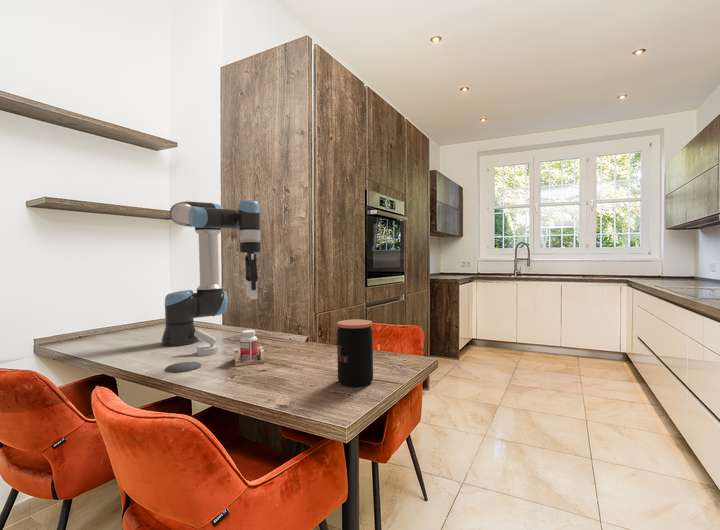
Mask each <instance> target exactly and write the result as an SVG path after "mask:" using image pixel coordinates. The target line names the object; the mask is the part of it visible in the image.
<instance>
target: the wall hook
mask: <svg viewBox="0 0 720 530" xmlns="http://www.w3.org/2000/svg"><path fill="white" fill-rule="evenodd" d="M194 336H196V337H198V339H200V340H202V341H204V342H205V343H208V344H203V345H199V346H197V347H196V355H197V356H200V357H201V356H202V357H203V356H206V357H207V356H213V355H218V354H220V352H221V345H219V344H216V343H217V338H216V337H215V336H213V335H212V334H209V333H207V332H205V331H203V330H201V329H199V328H197V329H196V331H195V333H194Z"/></svg>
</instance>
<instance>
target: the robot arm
mask: <svg viewBox="0 0 720 530" xmlns="http://www.w3.org/2000/svg"><path fill="white" fill-rule="evenodd" d="M169 217H170V219H171V221H172V222H173V223H175V224H177V225H179V226H183V227H188V228H189V227H190V228H194V232H196V234H198V235H197V236H198V259H199V260H198V261H199V285H198V287H196V292H194V291H193V290H192V289H187V290H179V291H174V292H171V293H168V294H166V295H165V298H164V317H165V318H164V319H165V320H164V321H165V327H164V331H163V334H162V337H161V345H162V346H165V347H166V346H167V347H177V346H178V347H179V346H186V345H191V344H195V343H197V342H198V341H199V338H198V337H196V336H194V333H195V331H196V330H197V329H196V327H195V324H194V322H195V321H194V319H197V318H205V317H206V318H207V317H208V318H209V317H215V316H221V315H223V314H224V313H225V312H226V309H227V307H228V300H229V298H228V294H227V291H224V288H223V286H221V284H220V270H219V268H220V266H219V265H220V263H219V260H220V259H219V234H220V233H221V232H222V229H231V230H235V231H236V230H238V231H239V232H238V233H237V236H239V252H241V253H246V254H245V256H244V263H245V264H244V265H245V285H246V286H245V288H246V292H245V293H246V298H249V300H258V299H259V297H258V296H259V295H258V278H259V277H258V266H257V261H258V260H257V253H261V247H262V246H261V243H260V241H261V227H260V225H261V222H260V218H261V217H260V205H259V202H258V201H255V200H248V199H247V200H246V199H245V200H241V201H239V202H238V208H237V209H232V208H231V209H230V208H223V206H221V204H218V203H213V202H202V201H200V202H199V201H189V200H188V201H187V200H186V201H179V202H176V203H174V204H173V205H172V206H171V208H170V210H169Z"/></svg>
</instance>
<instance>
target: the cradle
mask: <svg viewBox="0 0 720 530" xmlns="http://www.w3.org/2000/svg"><path fill="white" fill-rule="evenodd" d="M233 353H234V355H233V356H234V364H235V365H234V366H235V367H238V366H240V367H241V366H248V365H257V364H265V363H266V360H265V349H264V348H263V346H258V360H253V361H244V362H241V361H240V360H241V357H240V352H239V348H234V352H233Z"/></svg>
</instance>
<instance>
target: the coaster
mask: <svg viewBox="0 0 720 530" xmlns="http://www.w3.org/2000/svg"><path fill="white" fill-rule="evenodd" d="M201 366H202V363H200V362H197V361H183V362H177V363H173V364H170V365H168V366H166V367H165V371H166V372H168V373H185V372H191V371H195V370H197V369H200V368H201Z"/></svg>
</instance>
